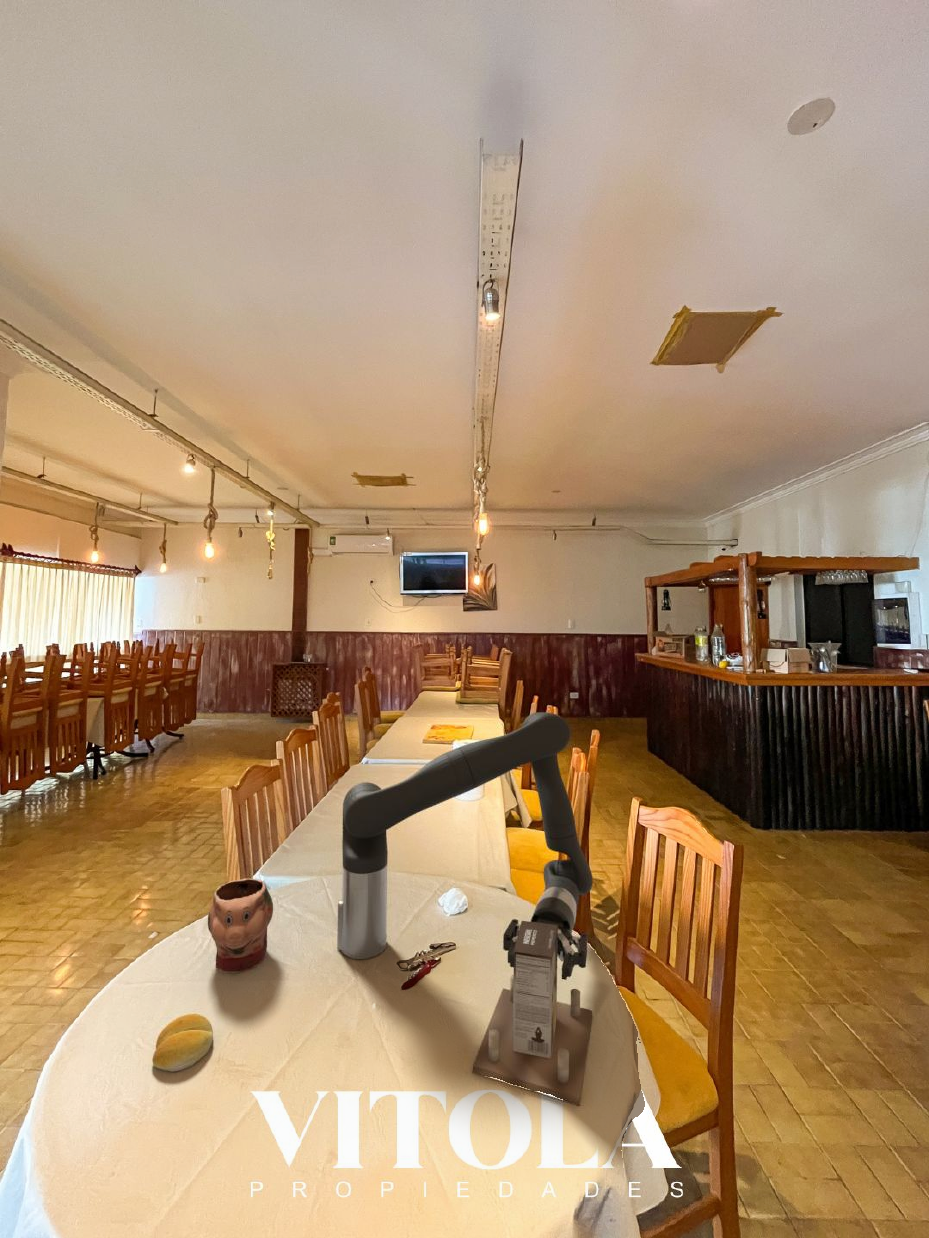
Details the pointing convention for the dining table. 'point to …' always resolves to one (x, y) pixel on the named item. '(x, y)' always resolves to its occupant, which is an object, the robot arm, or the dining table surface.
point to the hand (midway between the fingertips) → (537, 967)
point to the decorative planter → (240, 924)
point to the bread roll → (183, 1042)
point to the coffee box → (535, 989)
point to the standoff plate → (533, 1071)
